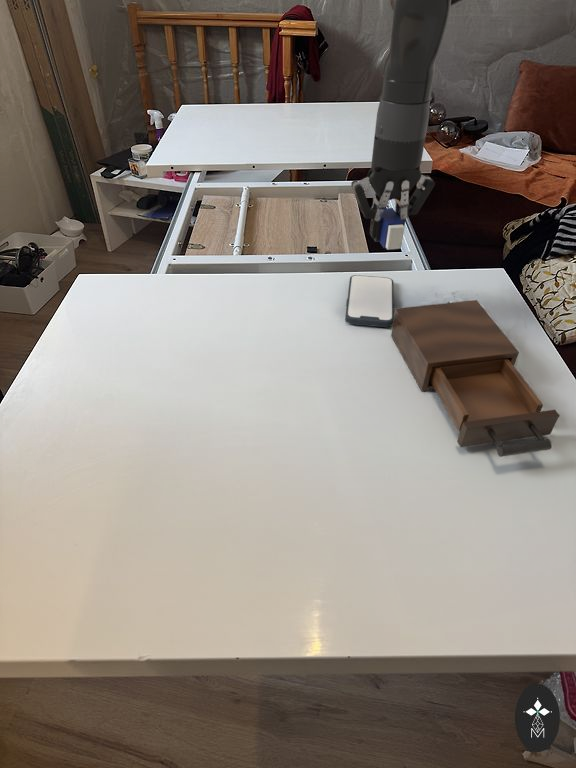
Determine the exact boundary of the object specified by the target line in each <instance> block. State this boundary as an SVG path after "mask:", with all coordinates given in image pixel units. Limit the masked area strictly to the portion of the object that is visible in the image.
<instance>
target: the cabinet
mask: <svg viewBox="0 0 576 768" xmlns="http://www.w3.org/2000/svg"><path fill="white" fill-rule="evenodd" d="M390 333H391V334H390V337H391V338H392V340H393V342H394V344H395V345H396V348H397V349H398V351H399V353H400V355H401V356H402V358H403V360H404V362H405V364H406V366H407V368H408V370H409V371H410V373H411V375H412V377H413V379H414V381H415V382H416V384H417V386H418V388H419V389H420V391H421V392H428V391H429V392H430V391H435V389H434V388H433V386H432V384H431V382H430V377H431V373H432V369H433V367H437V366H445V365H454V364H462V363H470V362H478V361H487V360H495V359H503V358H508V359H509V361H510V362H511V363H512V364H513V366H514V367H515V365H516V362H517V360H518V357H519V354H520V351H519V350H518V348H517V347H516V346H515V345H514V344H513V342H511V340H510V338H508V337H507V335H506V334H505V333H504V332H503V330H502V329H501V328H500V327H499V326H498V324H497V323H496V322H495V321H494V319H493V318H492V317H491V316H490V315H489V313H488V312H487V311H486V309H485V307H483V306H482V305H481V303H480V302H479V300H477V299H474V300H464V301H463V300H462V301H453V302H445V303H435V304H424V305H416V306H405V307H396V308H394V321H393V325H392V326H391V332H390Z"/></svg>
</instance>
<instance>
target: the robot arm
mask: <svg viewBox="0 0 576 768" xmlns="http://www.w3.org/2000/svg"><path fill="white" fill-rule="evenodd" d="M389 1H390V6H391V9H392V11H393V15H392V26H391V35H390V36H391V37H390V44H389V45H390V46H389V47H390V48H389V53H388V54H387V56H386V58H385V63H384V67H383V74H382V82H381V83H382V84H381V92H380V100H379V103H378V108H377V112H376V120H375V128H374V137H373V147H372V154H371V155H372V156H371V167H370V169H369V171H368V172H367V175H366V177H364V178H362V179H360V180H357V179H354V180H352V181H351V184H350V185H351V189H352V191H353V194H354V197H355V199H356V202H357V205H358V208H359V210H360V212H361V214H363V216H364V218H365V219H366V220H370V224H369V225H370V226H369V235H370V237H371V238H372V240H373V241H374V242H375V243H377V242H379V241H380V237H381V229H382V220H381V219H382V217H383V213H384V210H385V209H386V208H388V204H389V201H391V200H394V202H395V208H394V210H395V212H396V213H397V214H398V215H399V217H400V218H401V219H402V221H403V222H404V225H403V226H404V227H405V225H406V220H407V218H409V217H411V216H416V215H417V214H418V213H419V211H420V210H421V208H422V207H423V206H424V203H425V202H426V200H427V199H428V197H429V196H430V194H431V192H432V190H433V189H434V187H435V185H436V182H435V181H434V180H433V178H431V177H430V175H424V174H422V171H421V168H420V167H421V164H422V161H423V155H424V149H425V143H426V137H427V132H428V129H429V119H430V105H431V98H432V93H433V86H434V81H435V73H436V65H437V64H436V63H437V59H438V55H439V52H440V49H441V47H442V43H443V40H444V35H445V32H446V29H447V24H448V20H449V16H450V11H451V7H452V6H454V5H455V4H458V3H460V2H462V1H463V0H389ZM369 186H371V188H372V189H373V191H374V193H373V197H372V206H371V207H370V205H369V201H368V199H367V196H366V195H367V194H368V193H369ZM415 186H416V187H415ZM414 187H415V190H414V191H413V193H412V194H411V196H409V195H410V192H411V191H412V190H413V188H414ZM379 243H380V242H379Z"/></svg>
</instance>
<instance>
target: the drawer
mask: <svg viewBox="0 0 576 768" xmlns="http://www.w3.org/2000/svg"><path fill="white" fill-rule="evenodd" d="M430 382H431V384H432V386H433V388H434V389H435V390H434V391H435V393H436V395H437V397H438V398H439V400H440V401H441V404H442V405H443V407H444V409H445V411H446V412H447V414H448V415H449V417H450V419H451V421H452V422H453V424H454V426H455V428H456V429H457V431H458V432H459V434H458V438H457V440H456V442H457V444H458V445H459V448H466V447H467V448H468V447H473V446H474V447H475V446H481V445H489V444H494V445H495V446H496V453H497V455H498V457H501V458H503V457H509V456H516V455H523V454H530V453H536V452H542V451H543V452H544V451H548V450H551V449H552V442H551V440H550V439H548V438H545V437H544V436H550V435H551V434H552V432H553V430H554V428H555V426H556V424H557V421H558V420H559V418H560V414H559V413H558V412H557V410H556V409H549V410H543V411H542V409H543V406H544V402H542V400H541V399H540V397H539V396H538V395H537V394H536V392H535V391H534V390H533V389H532V388H531V386H530V385H529V383H527V381H526V380H525V378H524V377H523V376H522V375H521V373H520V372H519V371H518V370H517V368H516V367H515V365H514V366H513V364H512V363H511V362H510V361H509V359H508V358H503V359H495V360H487V361H478V362H470V363H462V364H454V365H445V366H437V367H433V369H432V373H431V377H430ZM530 438H536V440H532V441H525V442H518V443H511V444H505V445H504V444H503V443H502V442H508V441H515V440H523V439H530Z"/></svg>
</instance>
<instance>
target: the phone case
mask: <svg viewBox="0 0 576 768" xmlns="http://www.w3.org/2000/svg"><path fill="white" fill-rule="evenodd" d="M348 283H349V284H348V291H347V298H346V304H345V307H346V308H345V319H344V320H345V322H346V323H348V324H351V325H357V326H358V325H359V326H360V325H361V326H368V327H369V326H370V327H379V328H381V327H383V328H390V327H393V321H394V315H395V302H394V301H395V300H394V295H395V294H394V280H393V278H391V277H388V276H387V277H386V276H373V275H361V274H354V275H351V276H350V277H349V281H348Z"/></svg>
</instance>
